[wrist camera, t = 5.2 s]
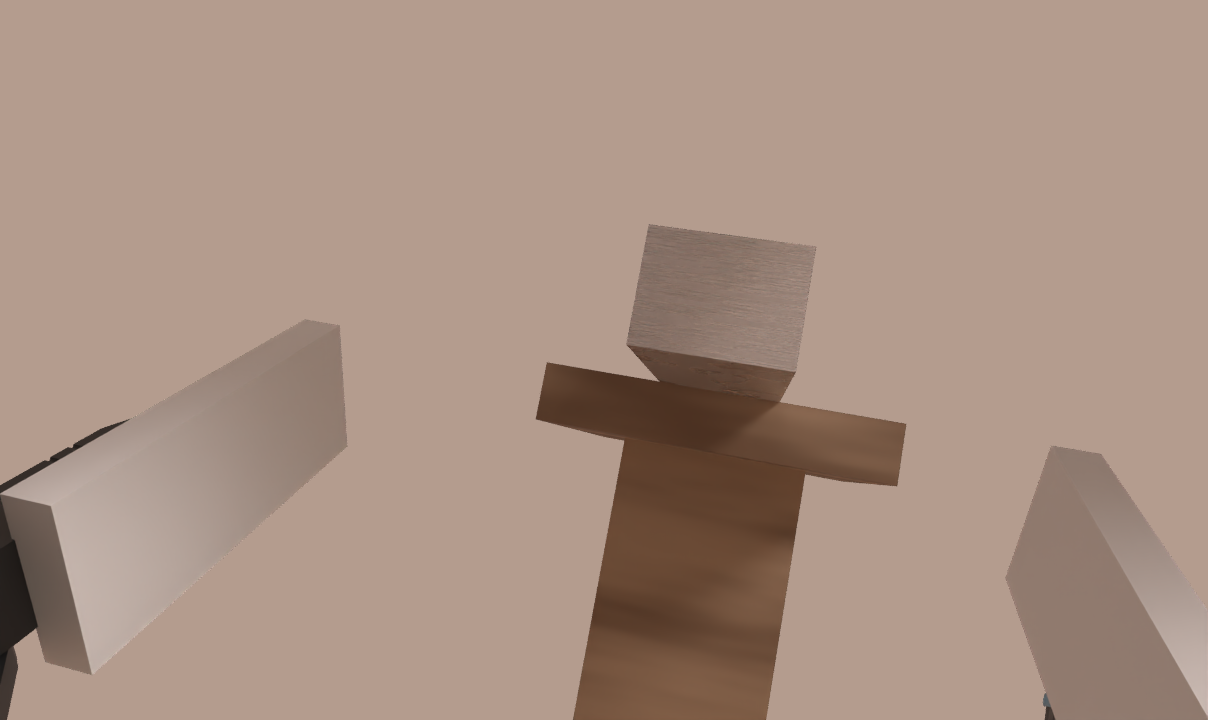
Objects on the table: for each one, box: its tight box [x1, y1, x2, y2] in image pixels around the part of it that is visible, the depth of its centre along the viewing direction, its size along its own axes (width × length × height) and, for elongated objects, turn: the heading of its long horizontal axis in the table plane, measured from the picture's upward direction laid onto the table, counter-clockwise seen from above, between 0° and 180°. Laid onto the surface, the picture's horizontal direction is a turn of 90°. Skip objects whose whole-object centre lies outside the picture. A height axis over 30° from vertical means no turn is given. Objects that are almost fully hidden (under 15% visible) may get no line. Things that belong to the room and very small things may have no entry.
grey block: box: [627, 225, 816, 402], centre depth 30 cm, size 24×4×3 cm, turn 170°
